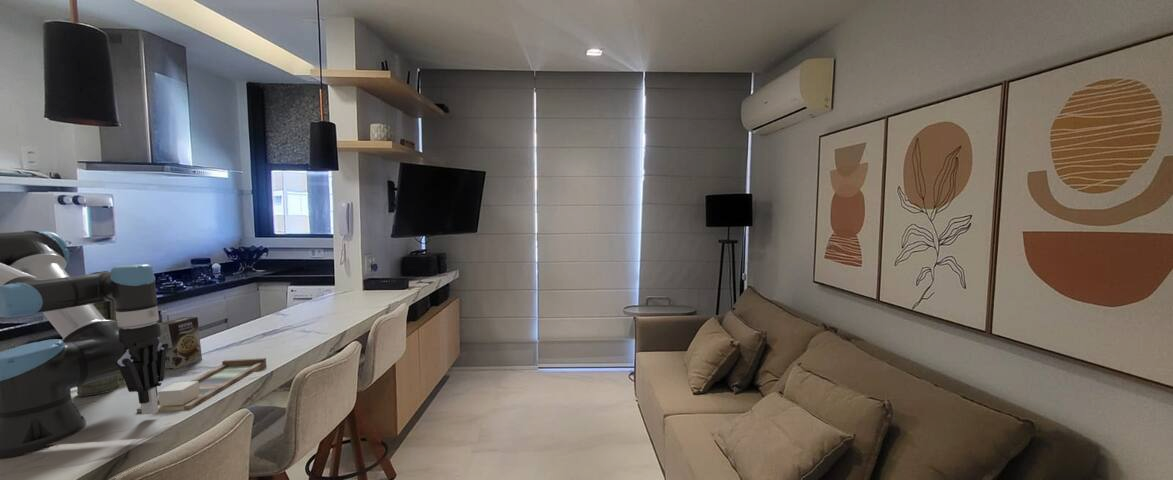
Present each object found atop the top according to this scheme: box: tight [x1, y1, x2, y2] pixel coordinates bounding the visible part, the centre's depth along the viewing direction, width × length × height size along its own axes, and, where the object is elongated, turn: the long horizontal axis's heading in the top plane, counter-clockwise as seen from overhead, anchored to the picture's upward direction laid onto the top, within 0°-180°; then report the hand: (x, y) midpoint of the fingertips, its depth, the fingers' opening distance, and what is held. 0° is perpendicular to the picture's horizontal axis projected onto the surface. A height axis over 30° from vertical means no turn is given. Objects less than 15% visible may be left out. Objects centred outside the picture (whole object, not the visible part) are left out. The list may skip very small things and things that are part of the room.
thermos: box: [76, 301, 121, 396], centre depth 134 cm, size 9×12×35 cm
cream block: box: [157, 381, 200, 406], centre depth 123 cm, size 6×6×4 cm
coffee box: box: [158, 316, 203, 370], centre depth 155 cm, size 9×6×16 cm
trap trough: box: [136, 357, 268, 414], centre depth 134 cm, size 33×13×3 cm, turn 6°
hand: (150, 412), depth 114 cm, fingers closed
